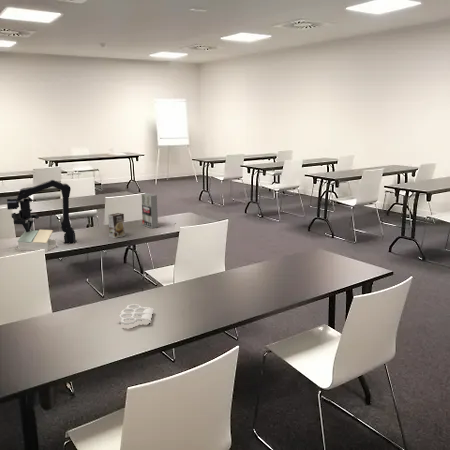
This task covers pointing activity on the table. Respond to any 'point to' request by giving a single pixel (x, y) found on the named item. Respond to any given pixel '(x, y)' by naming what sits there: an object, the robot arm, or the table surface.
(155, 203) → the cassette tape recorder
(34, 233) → the lid outer
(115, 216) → the coffee box
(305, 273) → the table surface
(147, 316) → the white flat holed piece
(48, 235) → the lid inner
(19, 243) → the white tray
